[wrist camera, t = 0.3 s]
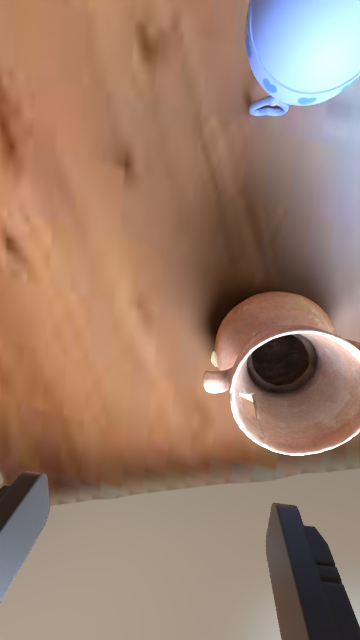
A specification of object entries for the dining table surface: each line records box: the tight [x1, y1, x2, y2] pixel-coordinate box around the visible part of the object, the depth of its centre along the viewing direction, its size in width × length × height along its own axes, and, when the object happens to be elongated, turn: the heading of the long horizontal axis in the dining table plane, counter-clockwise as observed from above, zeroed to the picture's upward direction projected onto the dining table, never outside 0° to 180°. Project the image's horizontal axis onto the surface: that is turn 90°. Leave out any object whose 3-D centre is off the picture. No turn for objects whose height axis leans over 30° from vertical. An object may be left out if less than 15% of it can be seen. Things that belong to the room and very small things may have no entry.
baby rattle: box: [245, 0, 360, 116], centre depth 23 cm, size 9×9×18 cm
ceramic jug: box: [203, 291, 360, 455], centre depth 31 cm, size 18×14×14 cm
